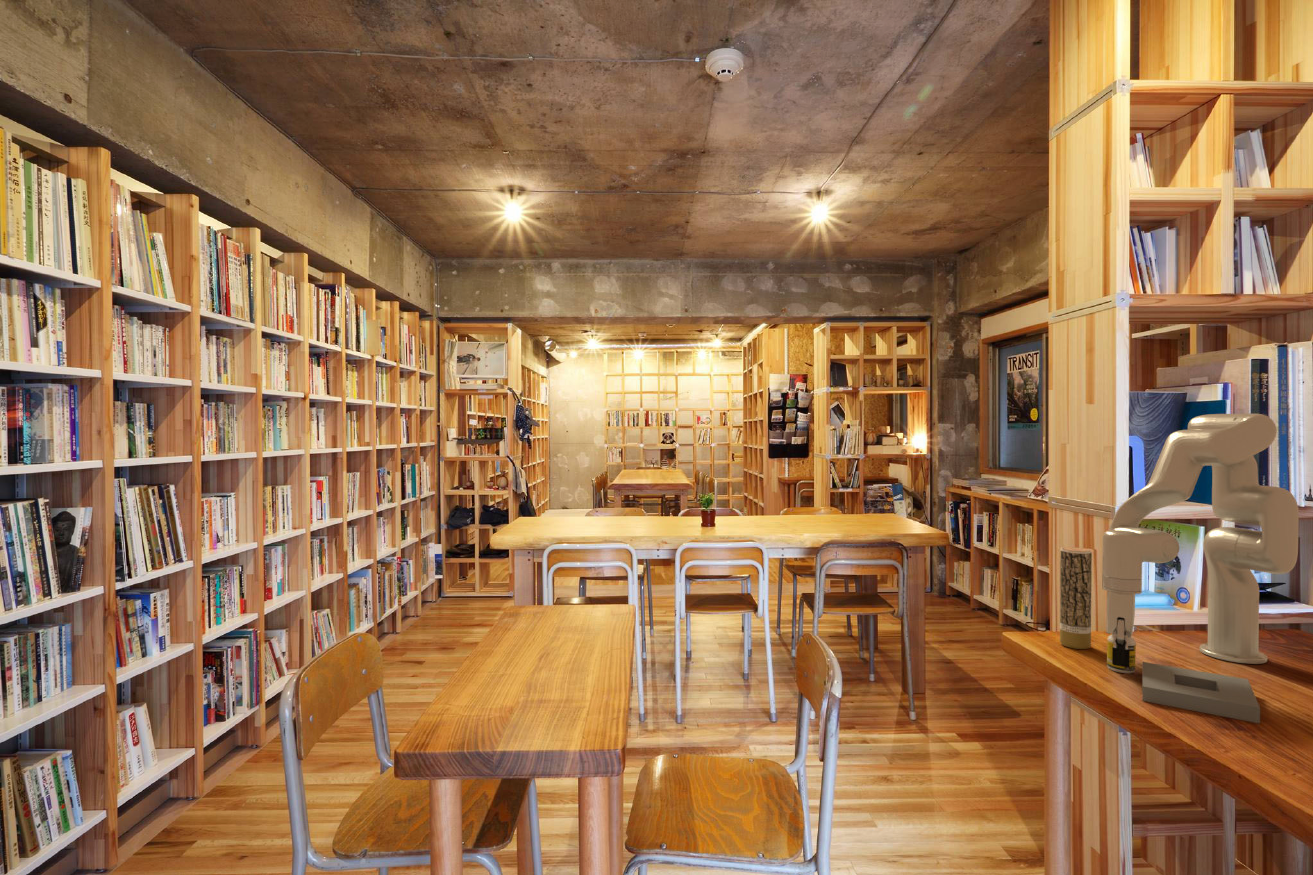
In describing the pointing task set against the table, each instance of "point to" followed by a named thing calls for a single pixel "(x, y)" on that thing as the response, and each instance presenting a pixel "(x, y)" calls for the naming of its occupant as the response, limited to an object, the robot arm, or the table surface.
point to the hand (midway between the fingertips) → (1121, 661)
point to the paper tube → (1075, 597)
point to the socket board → (1200, 692)
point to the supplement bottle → (1131, 656)
